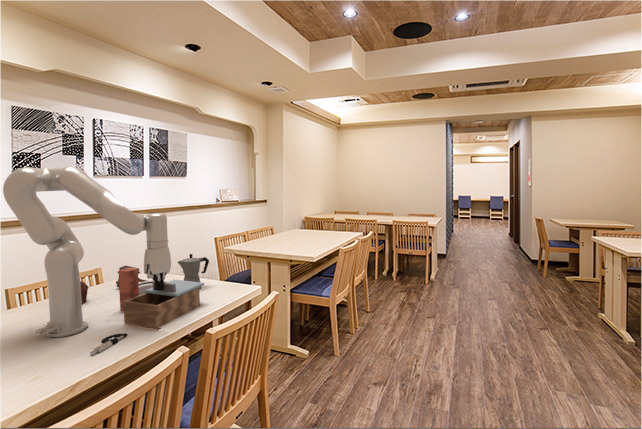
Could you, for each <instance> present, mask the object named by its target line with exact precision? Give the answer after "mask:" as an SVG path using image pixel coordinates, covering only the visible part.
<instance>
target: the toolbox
mask: <svg viewBox="0 0 642 429" xmlns="http://www.w3.org/2000/svg"><path fill="white" fill-rule="evenodd" d="M123 305H124V311H123V322H124V325H126V326H132V327H138V328H144V329H150V330H154V331H155V330H156V331H158V330H161V329H162V326H164V325H166V324H168V323H169V322H172V321H174V320H175V319H177V318H179V317H180V318H181V316H184V315H186V314H188V313H189V312H192V311H193V310H195V309H197V308H199V307H200V306H201V302H200V290H199V288H196V289H194V290H192V291H189V292H187V293H185V294H182V295H180V296H178V297H175V296H167V295H159V294H151V293H145V294H142V295H139V296H137V297H134V298H131V299H129V300H126V301H123Z"/></svg>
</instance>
